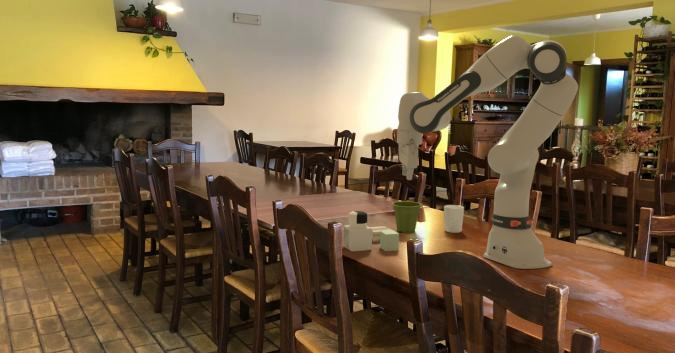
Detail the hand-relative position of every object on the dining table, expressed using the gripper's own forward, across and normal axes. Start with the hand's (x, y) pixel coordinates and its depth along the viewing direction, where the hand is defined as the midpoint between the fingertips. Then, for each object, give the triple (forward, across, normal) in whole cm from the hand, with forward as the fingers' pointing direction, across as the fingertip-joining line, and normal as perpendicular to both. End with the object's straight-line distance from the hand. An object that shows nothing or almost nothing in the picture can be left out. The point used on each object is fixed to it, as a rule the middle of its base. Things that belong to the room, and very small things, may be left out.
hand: (407, 177), depth 190 cm
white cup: (+25, +23, -24) cm, 41 cm away
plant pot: (+25, +22, -4) cm, 34 cm away
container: (+25, -5, +17) cm, 31 cm away
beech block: (+25, +9, +8) cm, 28 cm away
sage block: (+25, -6, +6) cm, 26 cm away
